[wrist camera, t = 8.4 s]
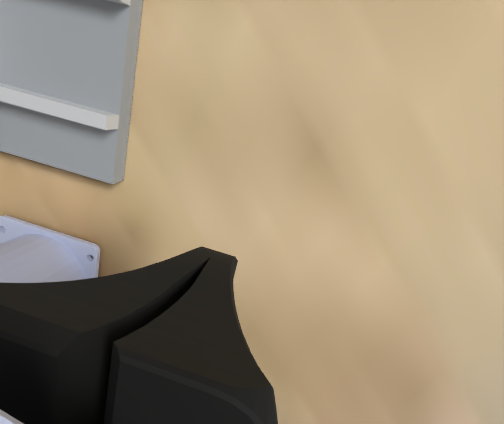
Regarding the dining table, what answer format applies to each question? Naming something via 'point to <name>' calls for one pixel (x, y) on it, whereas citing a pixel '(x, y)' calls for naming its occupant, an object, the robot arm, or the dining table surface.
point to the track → (69, 82)
